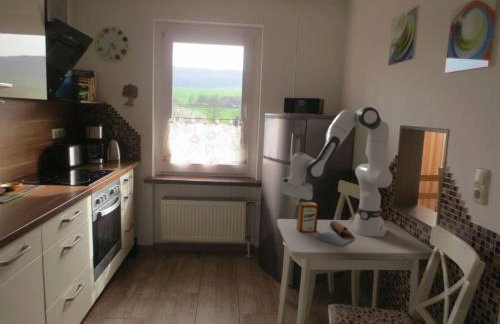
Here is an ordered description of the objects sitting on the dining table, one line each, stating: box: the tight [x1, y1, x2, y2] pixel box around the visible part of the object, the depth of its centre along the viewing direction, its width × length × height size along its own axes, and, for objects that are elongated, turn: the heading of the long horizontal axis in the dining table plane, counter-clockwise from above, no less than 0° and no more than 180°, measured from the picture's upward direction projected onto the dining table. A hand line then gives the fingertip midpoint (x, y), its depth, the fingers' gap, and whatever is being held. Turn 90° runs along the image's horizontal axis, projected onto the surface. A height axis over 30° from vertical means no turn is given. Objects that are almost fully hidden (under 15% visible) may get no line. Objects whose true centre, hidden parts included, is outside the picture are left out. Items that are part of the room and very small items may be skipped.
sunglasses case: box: [329, 220, 355, 239], centre depth 188 cm, size 18×7×7 cm, turn 6°
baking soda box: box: [296, 201, 319, 234], centre depth 188 cm, size 10×6×16 cm
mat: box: [314, 231, 354, 248], centre depth 178 cm, size 13×16×1 cm
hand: (295, 204), depth 193 cm, fingers closed
